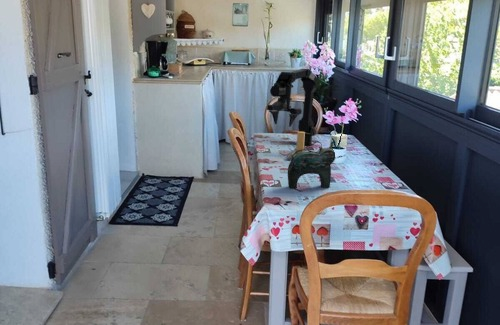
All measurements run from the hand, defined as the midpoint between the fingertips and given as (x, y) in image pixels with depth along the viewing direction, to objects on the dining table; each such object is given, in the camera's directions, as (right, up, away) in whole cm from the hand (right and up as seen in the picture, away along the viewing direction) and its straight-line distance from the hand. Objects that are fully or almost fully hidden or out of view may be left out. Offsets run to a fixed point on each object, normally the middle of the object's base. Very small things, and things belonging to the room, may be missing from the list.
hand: (282, 125), depth 240 cm
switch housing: (+8, -17, -3) cm, 19 cm away
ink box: (+29, -17, +2) cm, 34 cm away
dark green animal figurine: (+8, -31, -49) cm, 58 cm away
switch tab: (+9, -15, -1) cm, 17 cm away
